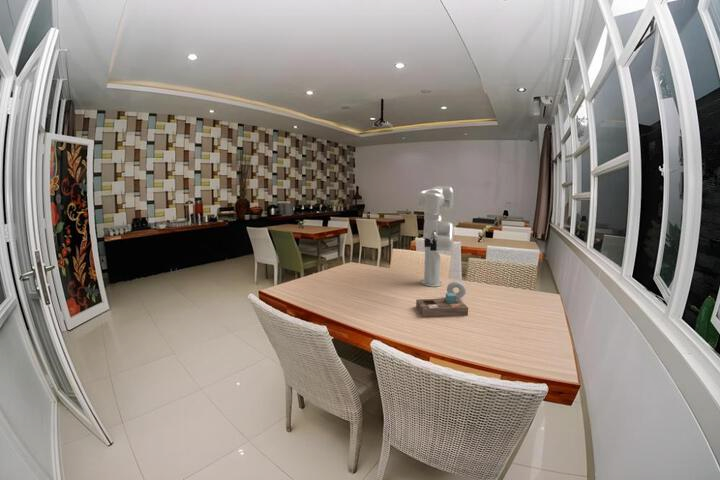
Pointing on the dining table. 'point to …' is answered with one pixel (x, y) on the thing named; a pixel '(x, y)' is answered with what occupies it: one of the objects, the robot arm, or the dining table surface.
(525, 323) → the dining table surface
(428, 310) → the socket block
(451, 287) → the donut
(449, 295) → the plug
